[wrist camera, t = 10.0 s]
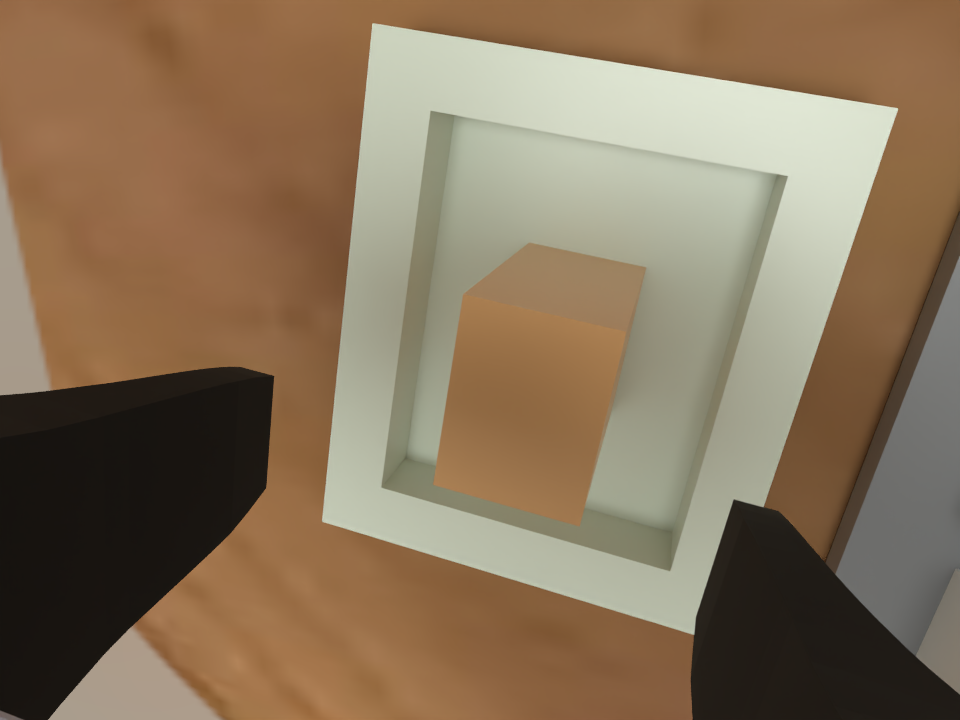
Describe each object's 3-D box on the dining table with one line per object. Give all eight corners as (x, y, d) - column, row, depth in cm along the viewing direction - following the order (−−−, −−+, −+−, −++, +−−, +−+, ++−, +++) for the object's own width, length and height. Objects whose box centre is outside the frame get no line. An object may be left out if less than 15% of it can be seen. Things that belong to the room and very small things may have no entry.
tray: (714, 585, 21) (717, 642, 19) (358, 481, 24) (321, 521, 21) (870, 109, 17) (898, 108, 15) (411, 34, 19) (372, 23, 17)
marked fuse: (610, 413, 20) (579, 526, 14) (502, 385, 21) (433, 484, 15) (646, 267, 19) (625, 331, 13) (529, 242, 19) (462, 293, 14)
